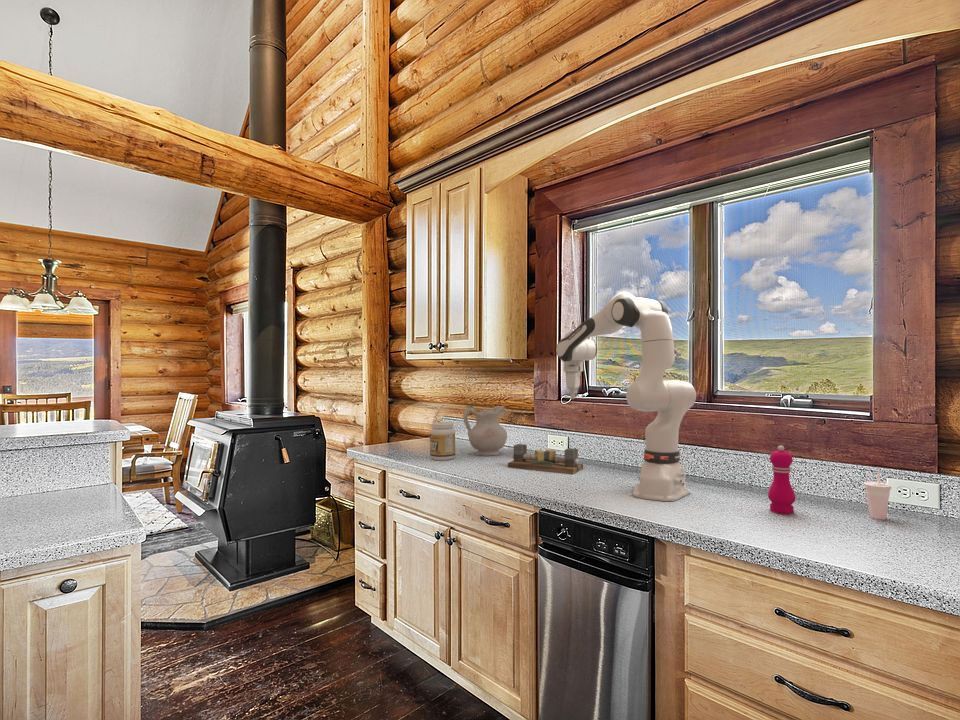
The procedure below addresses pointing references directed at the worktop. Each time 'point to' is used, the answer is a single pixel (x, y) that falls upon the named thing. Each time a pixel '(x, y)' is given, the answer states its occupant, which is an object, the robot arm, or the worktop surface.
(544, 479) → the worktop surface
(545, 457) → the coupling
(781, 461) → the pepper mill
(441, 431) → the supplement tub
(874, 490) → the smoothie
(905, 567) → the worktop surface
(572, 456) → the shaft stand
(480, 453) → the ceramic pitcher
